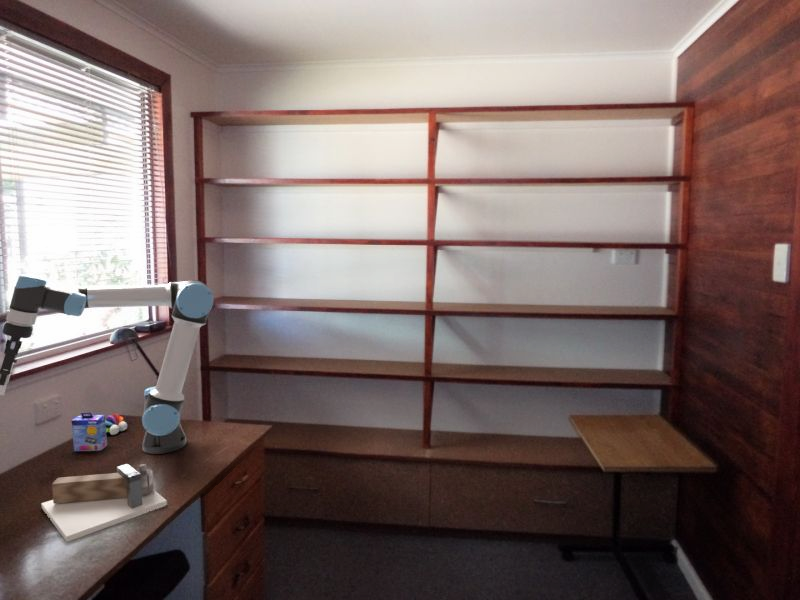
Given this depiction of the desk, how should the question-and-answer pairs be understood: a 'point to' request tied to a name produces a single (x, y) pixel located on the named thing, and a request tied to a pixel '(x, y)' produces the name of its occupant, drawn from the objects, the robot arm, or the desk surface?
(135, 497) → the bracket
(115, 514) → the board
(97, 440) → the ink cartridge box
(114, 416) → the multicoloured rounded cluster
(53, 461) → the desk surface
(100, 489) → the link
